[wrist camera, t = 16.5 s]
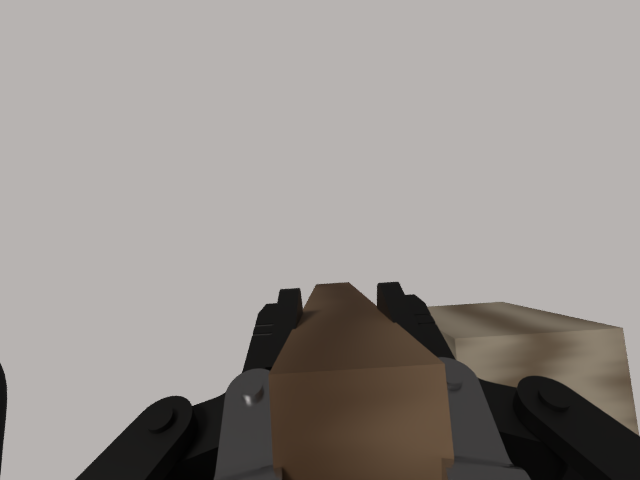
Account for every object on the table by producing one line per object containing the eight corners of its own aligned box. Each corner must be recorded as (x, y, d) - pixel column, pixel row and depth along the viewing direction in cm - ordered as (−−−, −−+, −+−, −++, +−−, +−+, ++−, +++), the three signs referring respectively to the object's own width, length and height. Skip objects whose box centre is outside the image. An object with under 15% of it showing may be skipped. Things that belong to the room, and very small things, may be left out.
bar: (276, 531, 5) (267, 374, 5) (318, 311, 27) (316, 284, 27) (460, 522, 5) (444, 364, 5) (350, 309, 27) (348, 282, 27)
